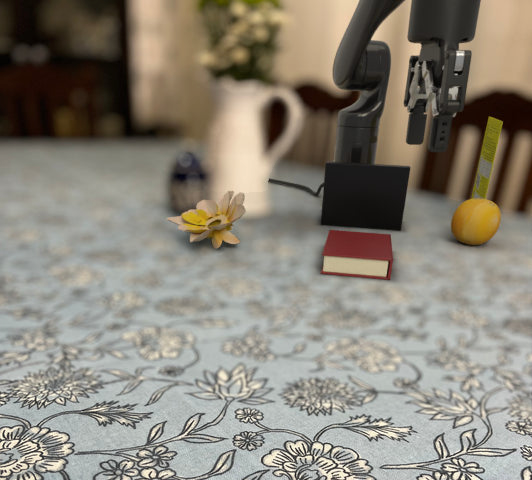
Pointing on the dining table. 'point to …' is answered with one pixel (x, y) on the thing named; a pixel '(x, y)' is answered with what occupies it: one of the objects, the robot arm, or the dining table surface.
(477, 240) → the fruit
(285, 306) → the dining table surface
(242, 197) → the decorative flower
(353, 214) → the bookend
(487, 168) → the food package
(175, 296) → the dining table surface
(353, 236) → the book
